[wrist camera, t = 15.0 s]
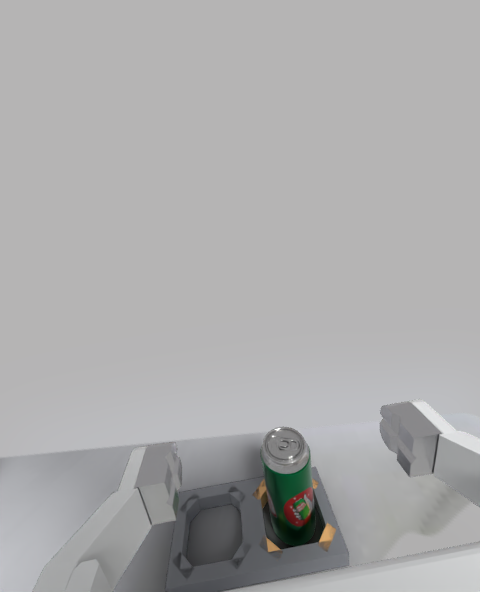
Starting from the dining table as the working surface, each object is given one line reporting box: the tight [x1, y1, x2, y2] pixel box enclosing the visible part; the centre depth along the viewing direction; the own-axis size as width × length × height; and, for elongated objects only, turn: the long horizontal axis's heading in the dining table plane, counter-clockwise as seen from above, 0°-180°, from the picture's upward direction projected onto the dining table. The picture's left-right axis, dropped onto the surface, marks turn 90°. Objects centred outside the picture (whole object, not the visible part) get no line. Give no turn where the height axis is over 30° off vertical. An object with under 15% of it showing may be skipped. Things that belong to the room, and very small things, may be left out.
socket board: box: [165, 467, 349, 592], centre depth 29 cm, size 18×9×2 cm, turn 94°
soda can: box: [261, 427, 316, 546], centre depth 28 cm, size 5×5×12 cm
